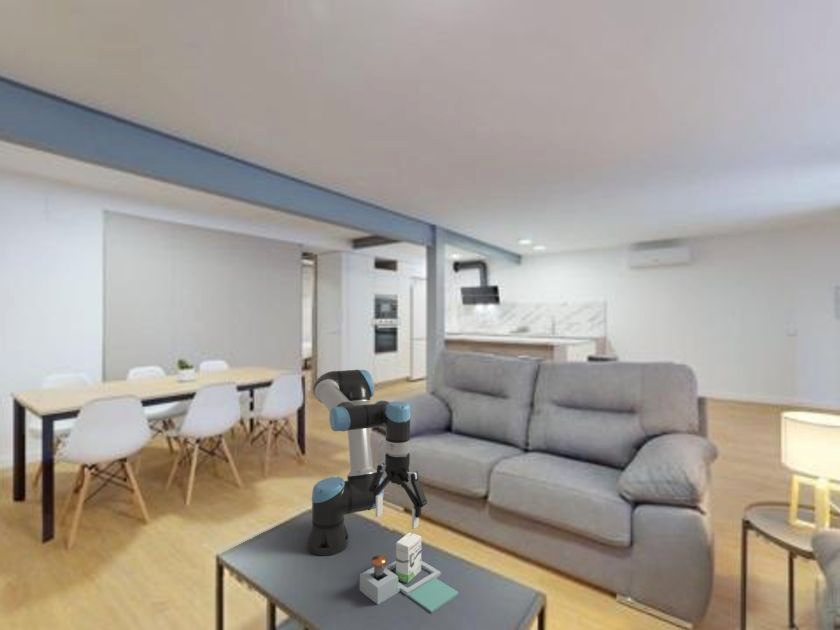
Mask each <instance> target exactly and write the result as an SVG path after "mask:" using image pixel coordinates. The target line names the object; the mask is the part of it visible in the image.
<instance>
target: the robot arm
mask: <svg viewBox="0 0 840 630" xmlns="http://www.w3.org/2000/svg"><path fill="white" fill-rule="evenodd" d="M374 384H375V383H374V379H373V377H372V374H371V373H370V372H369V371H368V370H365V369H351V370H350V369H349V370H331V371H328V372H325V373H323V374H322V375H320V376H319V377H318V378H317V379H316V380H315V382H314V384H313V389H312V391H313V395H314V397H315V399H316V400H317V401H318V402H319V403H320V404H323V405H324V407H325V408H326V410H327V411H328V412H329V425H330V429H331V430H332V431H333V432H346V431H347V439H348V450H349V452H348V453H349V463H350V465H349V466H350V471H349V472H348V474H346V475H347V476H346V477H347V480H344V478H343V477H340V476H331V477H326V478H324V479H321V480H319V481H317V483H316V484H315V485H313V487H312V494H311V503H312V504H311V528H310V530H309V532H308V533H309V534H308V537H307V541H306V549H307V551H308V552H310V553H311V554H313V555H317V556H321V557H322V556H324V557H325V556H331V555H336V554H339V553H341V552H343V551H344V550H346V549H347V548H348V546H349V543H350V541H349V540H350V539H349V538H350V537H349V533H348V530H347V527H346V524H345V515H349V514H350V515H351V514H354V513H356V514H357V513H359V512H365V511H371V510H375V517H377V518H379V517H380V516H382V515H383V512H384V511H383V507H384V506H383V505H384V503H383V502H384V501H383V500H384V496H385V488H386V486H388V484H389V483H391V484H396V485H398V486H401V487H402V488H403V489H404V491H405V493H406V494H407V496H408V497H409V499H410V501H411V503H412V505H413V506H412V507H411V529H412V530H415V529H416V528H417V527H418V526H419V524H420V523H419V521H420V519H419V518H420V517H421V516H422V508H423V507H424V506H426V505H427V504H428V501H427V498H426V496H425V493H424V492H425V491H424V490H423V487H422V484H421V482H420V480H419V473H418V471H414V472H412V471H410V468H409V467H410V460H411V459H410V458H411V455H410V452H411V450H410V447H411V445H410V444H411V437H410V436H411V417H412V416H411V414H412V413H411V406H410V404H409V403H407V402H405V401H387V400H383V399H382V400H378V401H376V402H375V403H371V398H372V397H374V395H375V385H374ZM381 427H382V428H384V429H385V456H384V457H385V458H384V459H385V460H384V461H385V462H383V463H380V464H379V465H377V467H376V469H375V468H374V466H373V456H372V444H371V442H372V441H371V436H370V435H371V434H370V429H371V428H381ZM384 473H385V474H386V476H385V477H384V479H383V475H384Z"/></svg>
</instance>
